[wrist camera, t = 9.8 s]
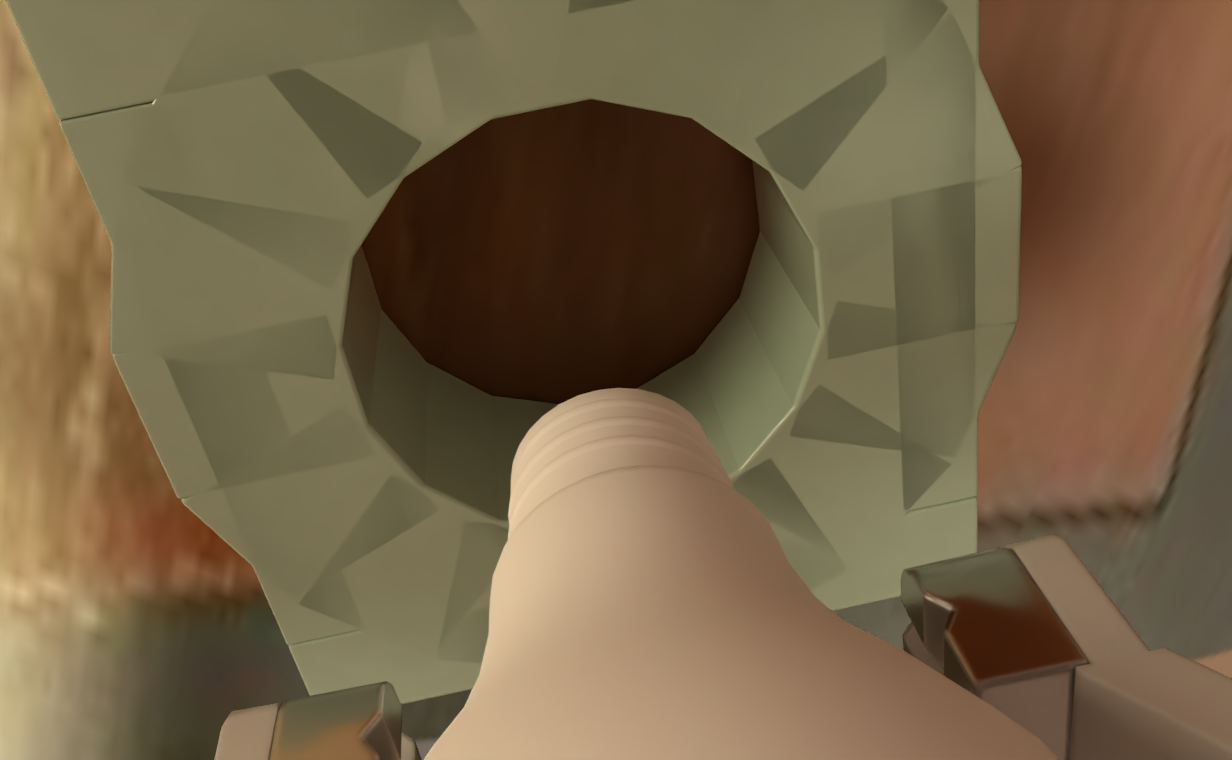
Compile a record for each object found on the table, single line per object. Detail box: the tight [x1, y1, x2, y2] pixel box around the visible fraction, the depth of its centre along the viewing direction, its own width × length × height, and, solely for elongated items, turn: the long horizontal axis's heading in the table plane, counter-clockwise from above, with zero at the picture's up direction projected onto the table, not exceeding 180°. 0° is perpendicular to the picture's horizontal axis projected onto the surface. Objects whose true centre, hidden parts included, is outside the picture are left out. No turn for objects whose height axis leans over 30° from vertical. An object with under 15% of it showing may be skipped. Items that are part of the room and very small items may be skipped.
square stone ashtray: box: [5, 0, 1022, 704], centre depth 18 cm, size 13×13×4 cm
